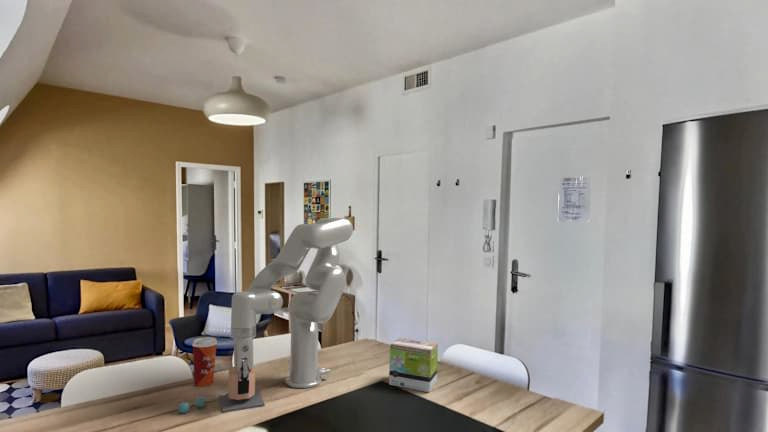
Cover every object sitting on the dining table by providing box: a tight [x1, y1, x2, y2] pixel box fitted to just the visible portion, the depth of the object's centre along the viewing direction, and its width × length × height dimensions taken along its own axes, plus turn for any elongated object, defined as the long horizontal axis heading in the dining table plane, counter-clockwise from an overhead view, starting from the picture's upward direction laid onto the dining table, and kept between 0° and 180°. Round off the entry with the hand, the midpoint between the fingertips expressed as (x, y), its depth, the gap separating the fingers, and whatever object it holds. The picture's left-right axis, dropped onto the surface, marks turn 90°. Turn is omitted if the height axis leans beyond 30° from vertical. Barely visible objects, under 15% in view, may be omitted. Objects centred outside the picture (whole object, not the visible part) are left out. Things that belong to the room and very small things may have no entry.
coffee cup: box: [191, 336, 218, 387], centre depth 147 cm, size 8×8×15 cm
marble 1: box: [177, 401, 190, 414], centre depth 124 cm, size 3×3×3 cm
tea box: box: [388, 337, 439, 393], centre depth 150 cm, size 15×10×15 cm
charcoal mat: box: [219, 389, 266, 413], centre depth 132 cm, size 12×12×1 cm
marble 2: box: [194, 396, 207, 409], centre depth 128 cm, size 3×3×3 cm
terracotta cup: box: [227, 365, 256, 400], centre depth 132 cm, size 8×8×8 cm
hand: (241, 388), depth 132 cm, fingers closed on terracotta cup, 7 cm apart
